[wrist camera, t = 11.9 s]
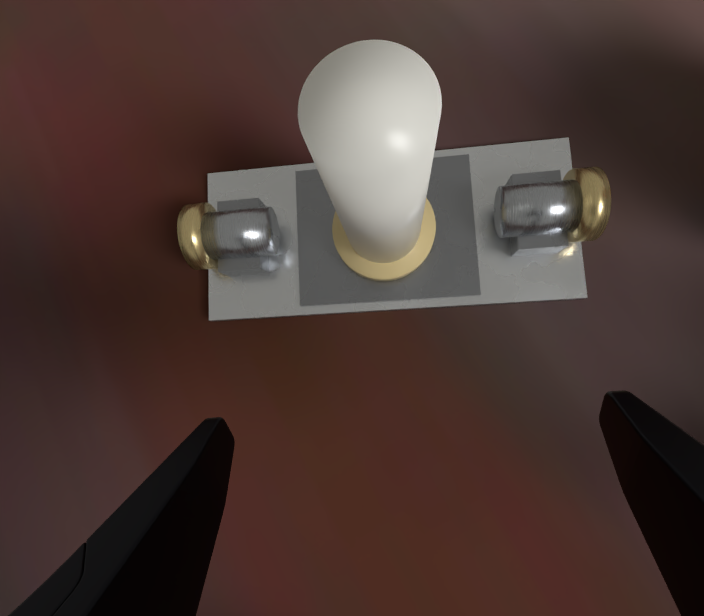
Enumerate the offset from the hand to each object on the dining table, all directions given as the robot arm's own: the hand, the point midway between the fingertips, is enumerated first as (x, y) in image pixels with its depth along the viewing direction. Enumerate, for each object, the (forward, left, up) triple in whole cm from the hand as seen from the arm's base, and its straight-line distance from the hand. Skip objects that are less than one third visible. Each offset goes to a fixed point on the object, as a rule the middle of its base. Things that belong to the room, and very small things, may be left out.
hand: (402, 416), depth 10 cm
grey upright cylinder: (+6, +6, -13) cm, 15 cm away
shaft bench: (+6, +6, -13) cm, 16 cm away
